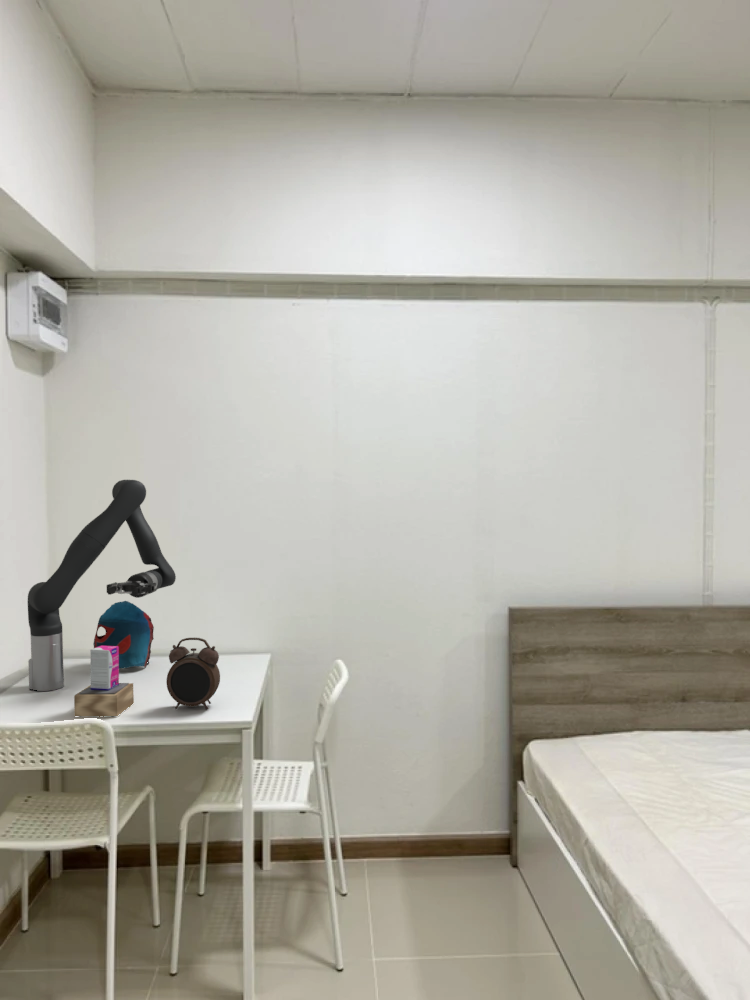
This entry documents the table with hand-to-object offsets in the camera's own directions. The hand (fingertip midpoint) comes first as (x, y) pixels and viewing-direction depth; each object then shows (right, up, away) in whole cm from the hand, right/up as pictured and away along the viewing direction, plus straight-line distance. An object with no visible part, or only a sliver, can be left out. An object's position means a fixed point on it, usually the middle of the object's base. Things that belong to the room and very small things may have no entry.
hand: (122, 591), depth 222 cm
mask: (-11, -31, +34) cm, 48 cm away
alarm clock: (+25, -32, -13) cm, 42 cm away
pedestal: (0, -32, -14) cm, 35 cm away
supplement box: (0, -26, -14) cm, 30 cm away
